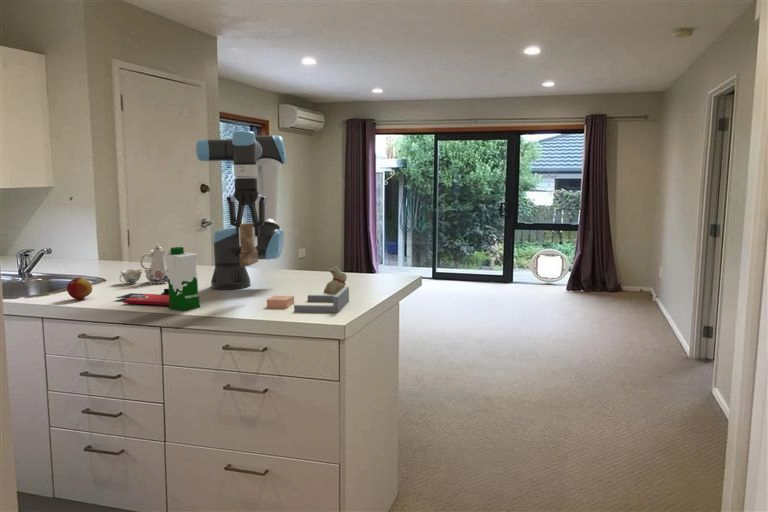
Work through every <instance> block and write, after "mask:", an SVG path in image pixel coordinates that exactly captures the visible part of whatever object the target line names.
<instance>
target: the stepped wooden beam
mask: <svg viewBox="0 0 768 512" xmlns="http://www.w3.org/2000/svg"><path fill="white" fill-rule="evenodd" d="M253 226H254V224H253V222H242V224H240V238H241V254H239V257H240V266H245V267H250V266H252V265H253V264H254V265H255V264H256V263H258V262H259V260H258V250H256V246H255V247H253V239H252V228H253Z"/></svg>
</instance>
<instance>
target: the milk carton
mask: <svg viewBox="0 0 768 512" xmlns="http://www.w3.org/2000/svg"><path fill="white" fill-rule="evenodd" d="M170 249H171V254H168V253H167V254H165V259H166V264H167V269H168V283H167V284H168V289H169V305H168V309H170V310H174V311H180V312H182V311H183V312H185V311H189V310H190V311H191V310H192V309H197V308H201V304H200V295H199V286H198V284H199V283H198V260H199V254H198V253H194V252H185V251H184V247H182V246H175V247H171V248H170Z"/></svg>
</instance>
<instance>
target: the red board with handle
mask: <svg viewBox="0 0 768 512" xmlns="http://www.w3.org/2000/svg"><path fill="white" fill-rule="evenodd" d="M115 298H116V299H123V300H122V302H123V304H141V305H159V306H169V288H164V289H163V292H161V293H160V294H157V293H133V292H132V293H131V292H130V293H127V294H124V295H120V296H119V295H118V296H117V297H115Z"/></svg>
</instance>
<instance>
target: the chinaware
mask: <svg viewBox="0 0 768 512" xmlns="http://www.w3.org/2000/svg"><path fill="white" fill-rule="evenodd" d="M166 251H167V249H164V248H163V247H161V246H160V244H159V243H156V245H155V246H154V247H153V249H151V250H149V252H150V253H149V252H148V253H145V254H143V255H142V256H141V257H140V261H139V263H140V267H141V268H142V269H144V273H145V278H146V279H147V280H148V281H149V282H148V283H149V284H150V283H164V284H166V283H165V282H168V269H167V264H166V259H165V255H166ZM168 254H171V248H170V249H169V250H168V253H167V255H168ZM146 256H148V258H150V259H151V261H150V265H149V267H145V266H144V264H143V259H144V257H146ZM142 269H136V270H135V269H127V270H126V271H125V270H121V271H120V274H121V275H120V276H119V281H120V283H125V284H126V285H127V284H128V285H135V283H137V282H138V281H139V280H140V279H141V276H142V273H143V270H142ZM121 277H122V279H123V280H124V281H122V280H121Z"/></svg>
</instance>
